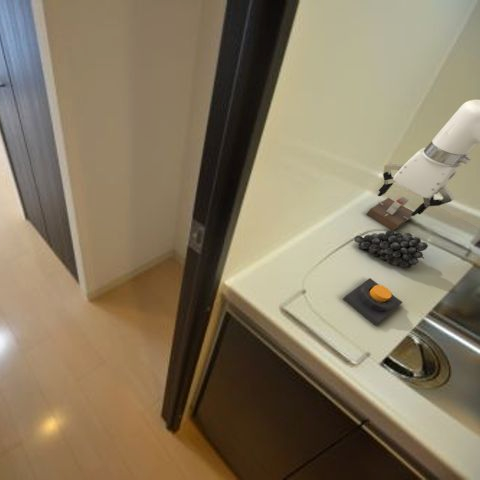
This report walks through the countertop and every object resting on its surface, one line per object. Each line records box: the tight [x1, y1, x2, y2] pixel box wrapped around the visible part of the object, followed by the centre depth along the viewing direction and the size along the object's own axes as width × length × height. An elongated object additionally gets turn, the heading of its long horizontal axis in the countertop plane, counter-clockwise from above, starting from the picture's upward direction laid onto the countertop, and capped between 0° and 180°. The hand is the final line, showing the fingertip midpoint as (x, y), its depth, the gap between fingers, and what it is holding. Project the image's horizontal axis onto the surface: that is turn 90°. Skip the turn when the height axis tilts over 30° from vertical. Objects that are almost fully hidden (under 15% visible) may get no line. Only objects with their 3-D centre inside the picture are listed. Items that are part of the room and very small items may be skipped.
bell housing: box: [342, 277, 403, 326], centre depth 76 cm, size 10×8×4 cm
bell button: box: [369, 284, 393, 302], centre depth 74 cm, size 4×4×2 cm
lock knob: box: [386, 196, 410, 215], centre depth 94 cm, size 4×2×4 cm, turn 123°
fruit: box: [353, 229, 429, 269], centre depth 85 cm, size 9×8×15 cm
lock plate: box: [365, 197, 414, 231], centre depth 96 cm, size 10×9×3 cm
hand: (397, 204), depth 93 cm, fingers open, 9 cm apart
